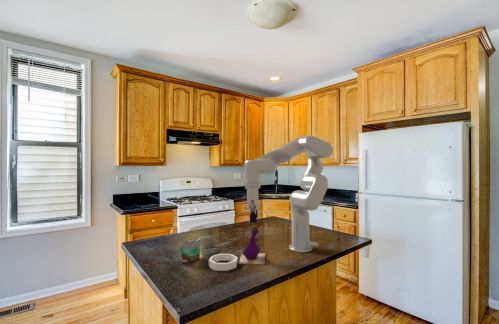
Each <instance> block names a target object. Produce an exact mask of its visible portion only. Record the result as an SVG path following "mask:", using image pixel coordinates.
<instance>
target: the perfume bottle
mask: <svg viewBox="0 0 499 324" xmlns="http://www.w3.org/2000/svg"><path fill="white" fill-rule="evenodd" d="M249 223H250V220H249V221H248V220H247V223H246V224H247V225H249ZM252 224H253V225H254V226H253V227H252V228H251V230H250V233H251V237H250V238H249V242H248V243H247V245H246V247H245V248H244V250H243V251H242V253H243V255H244V256H245V257H246V259H253V260H255V259H256V257H257V255H258V254H259V253H260V252H261V251H262V250H261V248H260V247H259V246H258V244H257V243H256V241H255V240H256V236H257V234H258V233H259V232H260V231H259V230H258V229H259V227H258V226H256V223H252Z"/></svg>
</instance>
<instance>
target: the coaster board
mask: <svg viewBox="0 0 499 324" xmlns="http://www.w3.org/2000/svg"><path fill="white" fill-rule="evenodd" d="M239 257H240V258H239V261H238V264H239V265H266V253H264V252H263V253H260V252H259V254H258V255H257V257H256V259H255V260H253V259H246V257H245V256H244V255H243V252H242V253H241V254H240V256H239Z"/></svg>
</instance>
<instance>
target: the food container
mask: <svg viewBox="0 0 499 324" xmlns="http://www.w3.org/2000/svg"><path fill="white" fill-rule="evenodd" d="M202 244H203V240H202V238H201V237H200V236H197V237H196V238H194V239H189V240H187V241H184V242H182V241H180V242H179V248H180V253H181V254H180V257H181V263H182V264H188V265H189V264H195V263H197V262H199V261H200V255H201V245H202Z"/></svg>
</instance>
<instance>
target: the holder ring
mask: <svg viewBox="0 0 499 324" xmlns="http://www.w3.org/2000/svg"><path fill="white" fill-rule="evenodd" d="M220 261H224V262H220ZM225 261H226V262H225ZM237 267H238V256H236V255H234V254H232V253H218V254H214V255H211V256H210V258H209V259H208V268H209V269H211V270H213V271H217V272H221V271H223V272H227V271H230V270H235V269H236V268H237Z"/></svg>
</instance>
